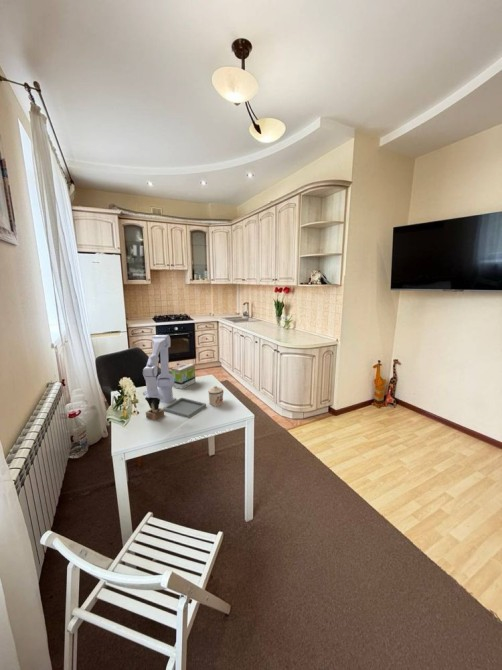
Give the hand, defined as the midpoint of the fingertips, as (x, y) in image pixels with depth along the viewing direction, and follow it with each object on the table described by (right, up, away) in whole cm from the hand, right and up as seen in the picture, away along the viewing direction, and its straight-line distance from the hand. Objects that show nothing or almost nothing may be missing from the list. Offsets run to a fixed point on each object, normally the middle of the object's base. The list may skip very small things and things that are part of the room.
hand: (154, 408), depth 155 cm
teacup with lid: (+34, -1, +17) cm, 38 cm away
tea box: (+6, +5, +47) cm, 48 cm away
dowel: (0, -4, +1) cm, 4 cm away
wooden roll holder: (0, -5, +1) cm, 5 cm away
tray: (+15, -3, +10) cm, 18 cm away
